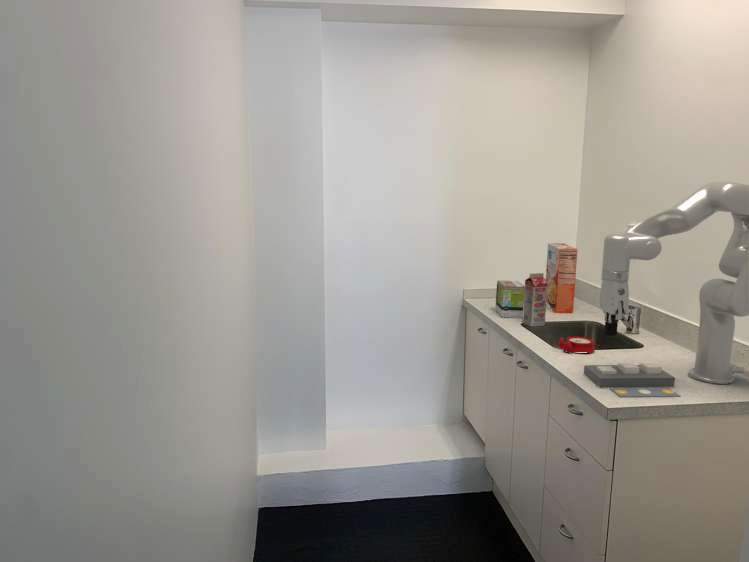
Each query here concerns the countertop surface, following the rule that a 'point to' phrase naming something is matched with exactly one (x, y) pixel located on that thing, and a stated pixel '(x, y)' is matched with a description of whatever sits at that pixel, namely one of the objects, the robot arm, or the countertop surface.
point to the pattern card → (644, 392)
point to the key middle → (628, 368)
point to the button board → (628, 378)
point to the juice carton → (535, 300)
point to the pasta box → (561, 277)
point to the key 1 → (606, 370)
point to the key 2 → (650, 368)
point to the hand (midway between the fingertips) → (610, 334)
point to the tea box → (510, 299)
